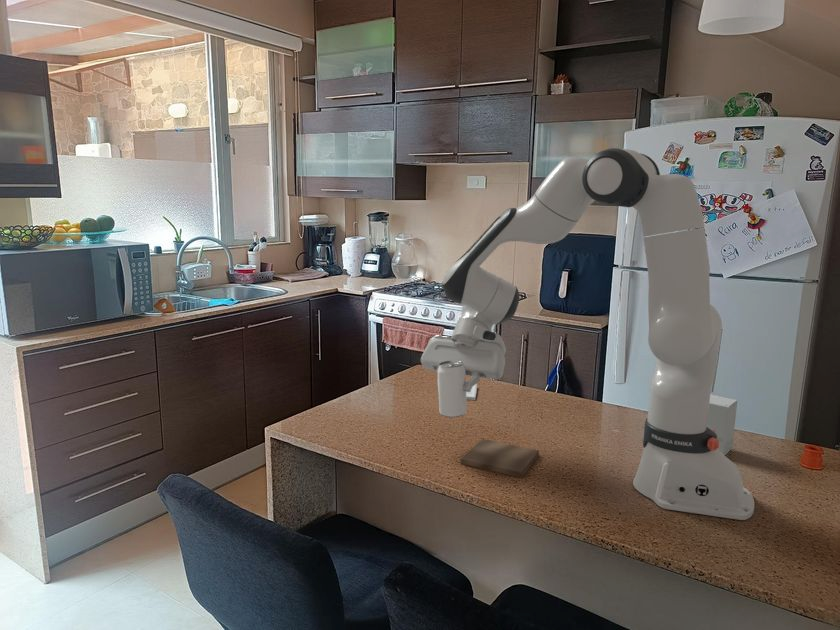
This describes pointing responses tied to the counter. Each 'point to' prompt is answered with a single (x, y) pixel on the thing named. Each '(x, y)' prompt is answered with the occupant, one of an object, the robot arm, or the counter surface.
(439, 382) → the can
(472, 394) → the external hard drive
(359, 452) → the counter surface
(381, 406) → the counter surface
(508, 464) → the walnut board
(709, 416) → the supplement box
